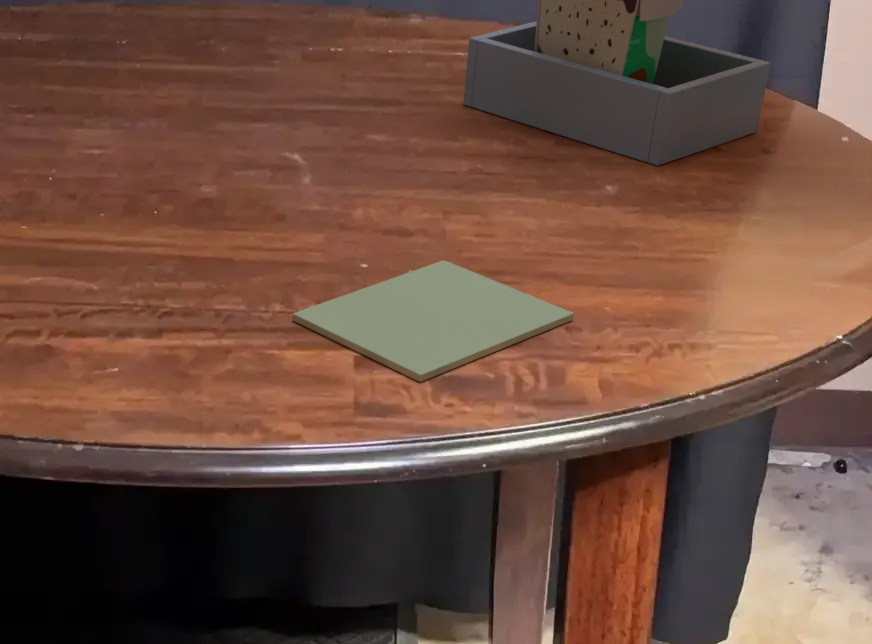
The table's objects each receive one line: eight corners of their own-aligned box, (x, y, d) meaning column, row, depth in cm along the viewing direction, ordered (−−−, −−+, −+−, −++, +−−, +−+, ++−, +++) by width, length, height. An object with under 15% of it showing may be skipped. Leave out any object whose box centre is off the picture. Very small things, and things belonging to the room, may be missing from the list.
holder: (757, 132, 100) (771, 62, 98) (657, 166, 95) (670, 93, 92) (562, 76, 111) (570, 12, 108) (462, 104, 105) (469, 37, 103)
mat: (573, 320, 76) (574, 312, 76) (420, 382, 71) (420, 374, 70) (443, 266, 82) (443, 259, 82) (292, 320, 76) (292, 313, 76)
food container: (699, 139, 99) (730, -23, 93) (620, 150, 97) (646, -14, 91) (593, 88, 108) (616, -63, 103) (519, 98, 107) (537, -55, 101)
